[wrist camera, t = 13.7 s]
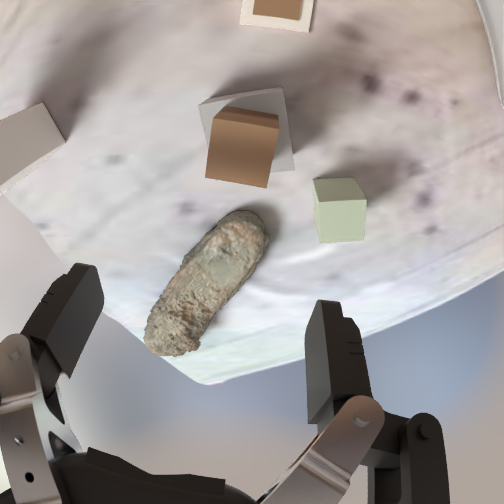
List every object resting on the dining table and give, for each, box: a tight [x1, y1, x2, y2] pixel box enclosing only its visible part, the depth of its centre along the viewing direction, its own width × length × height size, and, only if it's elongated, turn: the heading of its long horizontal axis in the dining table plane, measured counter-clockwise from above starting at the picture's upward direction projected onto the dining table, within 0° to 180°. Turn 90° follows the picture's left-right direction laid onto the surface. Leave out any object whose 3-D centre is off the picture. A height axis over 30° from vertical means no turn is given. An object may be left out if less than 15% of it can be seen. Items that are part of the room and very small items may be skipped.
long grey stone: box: [143, 211, 270, 357], centre depth 46 cm, size 35×5×10 cm
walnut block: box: [205, 106, 279, 188], centre depth 25 cm, size 5×5×6 cm
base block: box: [198, 87, 295, 180], centre depth 30 cm, size 8×8×5 cm
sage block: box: [313, 177, 367, 243], centre depth 33 cm, size 5×5×6 cm
